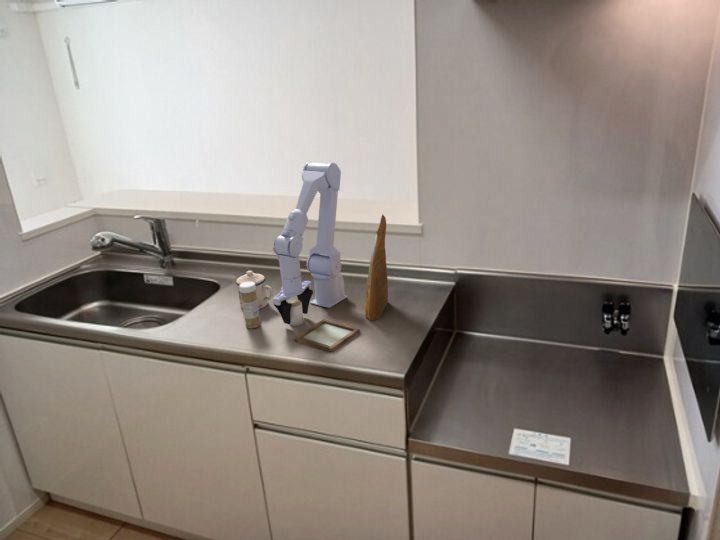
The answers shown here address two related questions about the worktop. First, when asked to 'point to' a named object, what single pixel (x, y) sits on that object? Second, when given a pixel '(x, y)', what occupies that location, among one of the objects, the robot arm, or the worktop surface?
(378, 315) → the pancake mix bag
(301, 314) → the salt cellar
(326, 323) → the rest tray
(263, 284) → the teacup with lid
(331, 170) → the robot arm
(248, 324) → the sprinkles bottle
